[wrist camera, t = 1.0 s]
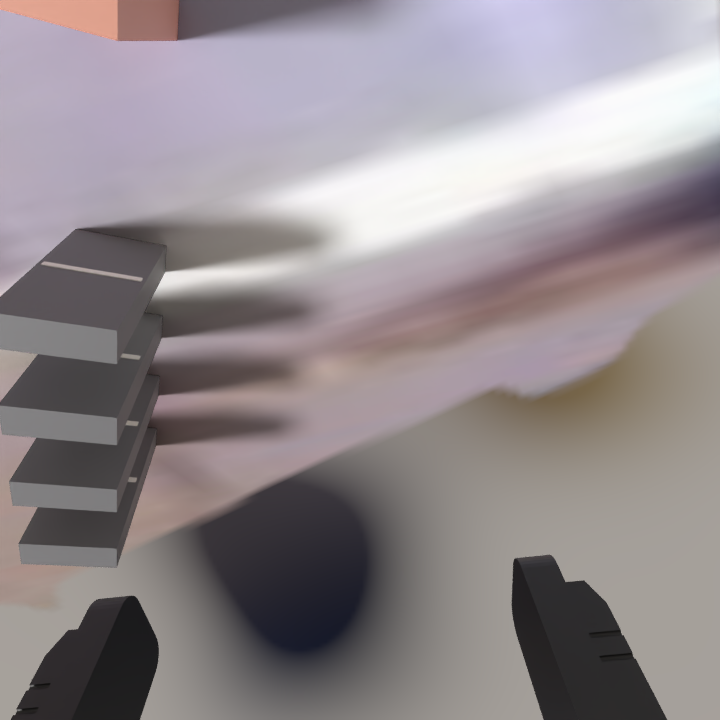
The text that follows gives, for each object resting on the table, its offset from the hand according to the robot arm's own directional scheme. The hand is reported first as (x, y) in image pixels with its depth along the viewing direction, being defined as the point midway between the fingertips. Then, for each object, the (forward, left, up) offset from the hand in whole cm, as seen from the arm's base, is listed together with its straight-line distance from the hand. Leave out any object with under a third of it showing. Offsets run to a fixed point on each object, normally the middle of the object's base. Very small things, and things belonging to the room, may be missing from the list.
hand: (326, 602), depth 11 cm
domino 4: (-11, -14, -25) cm, 31 cm away
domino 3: (-11, -9, -25) cm, 29 cm away
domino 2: (-11, -4, -25) cm, 28 cm away
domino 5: (-11, -19, -25) cm, 33 cm away
